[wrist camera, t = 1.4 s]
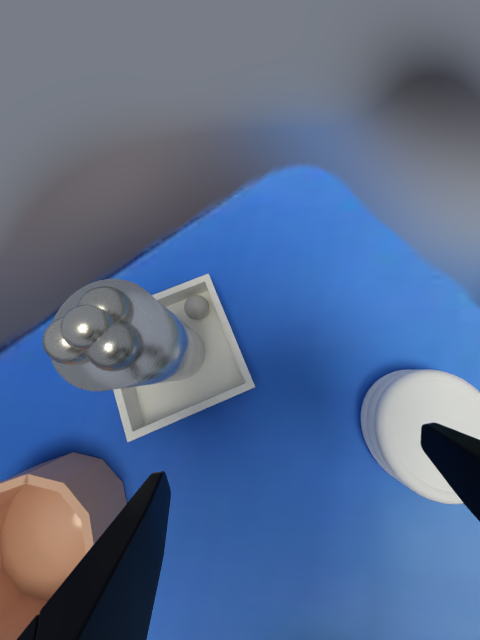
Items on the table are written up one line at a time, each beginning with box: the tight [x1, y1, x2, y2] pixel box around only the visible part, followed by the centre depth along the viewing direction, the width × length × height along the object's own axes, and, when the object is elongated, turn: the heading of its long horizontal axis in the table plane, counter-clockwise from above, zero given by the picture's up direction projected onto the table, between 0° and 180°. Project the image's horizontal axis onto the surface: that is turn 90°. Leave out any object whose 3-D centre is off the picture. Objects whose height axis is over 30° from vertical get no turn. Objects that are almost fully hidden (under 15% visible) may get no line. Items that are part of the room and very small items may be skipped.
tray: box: [113, 274, 255, 442], centre depth 21 cm, size 11×11×3 cm
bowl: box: [0, 452, 127, 640], centre depth 17 cm, size 11×11×4 cm
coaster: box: [361, 369, 480, 504], centre depth 19 cm, size 10×10×4 cm
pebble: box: [184, 295, 209, 320], centre depth 22 cm, size 2×2×2 cm
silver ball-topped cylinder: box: [43, 279, 205, 391], centre depth 15 cm, size 5×5×14 cm
